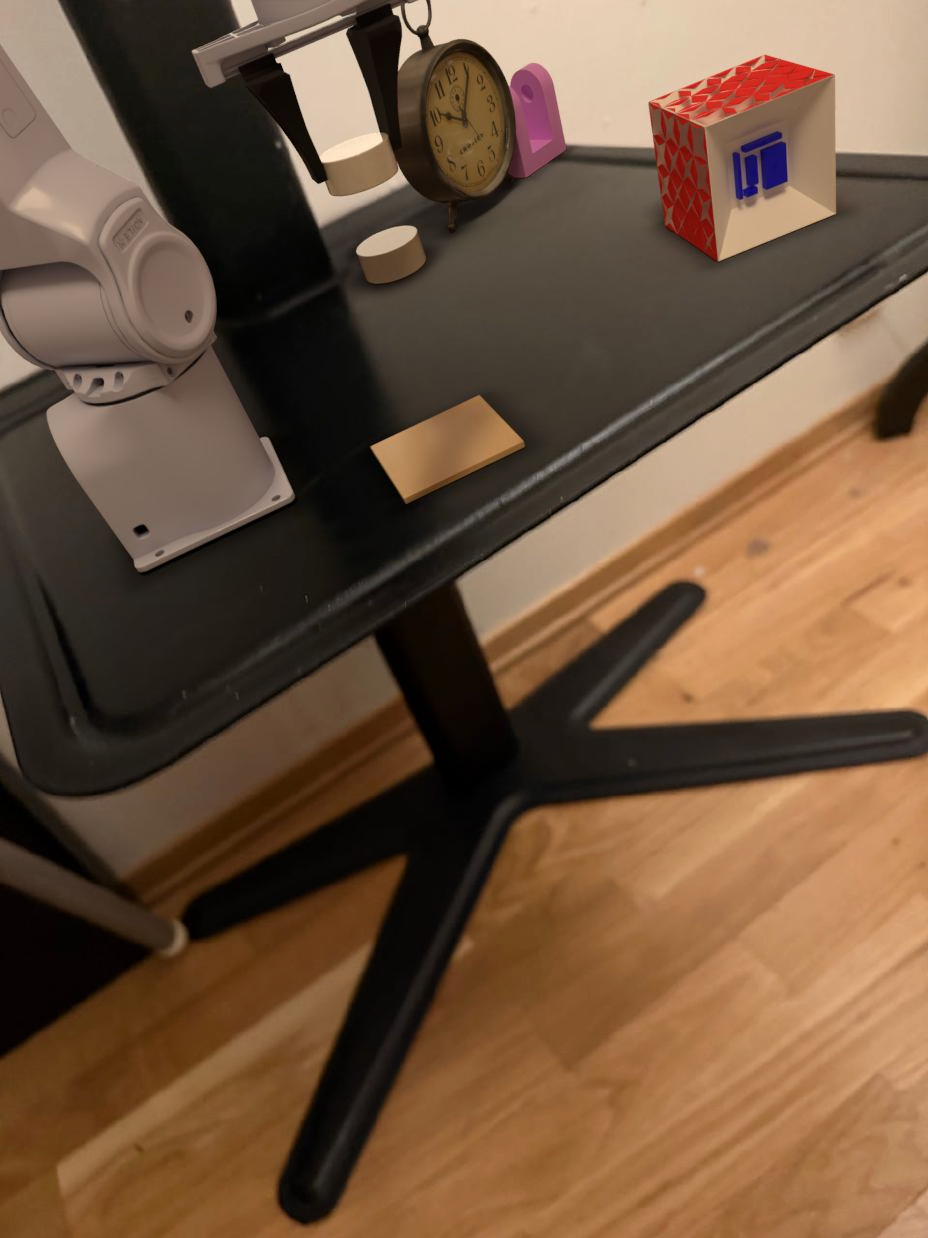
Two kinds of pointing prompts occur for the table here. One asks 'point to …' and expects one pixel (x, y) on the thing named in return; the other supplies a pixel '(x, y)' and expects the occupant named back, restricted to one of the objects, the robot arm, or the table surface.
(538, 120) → the bracket
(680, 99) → the puzzle cube
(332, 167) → the short cream cylinder
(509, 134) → the alarm clock
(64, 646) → the table surface
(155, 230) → the robot arm
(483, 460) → the placemat
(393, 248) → the beige round disc
